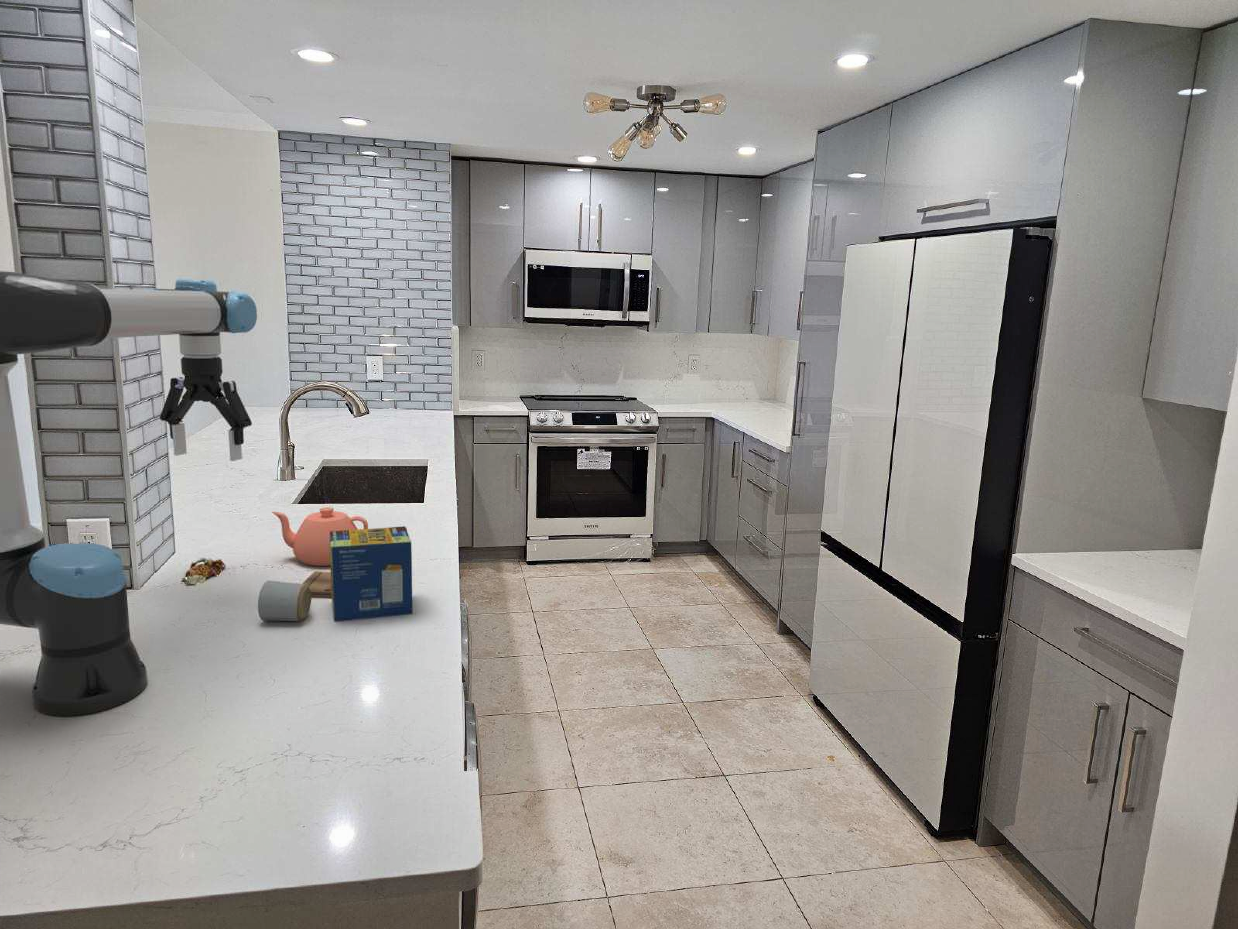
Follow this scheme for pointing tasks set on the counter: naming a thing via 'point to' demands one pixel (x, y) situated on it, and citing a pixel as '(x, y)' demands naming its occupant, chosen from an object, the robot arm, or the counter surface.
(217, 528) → the counter surface
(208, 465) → the counter surface
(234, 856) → the counter surface
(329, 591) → the walnut board
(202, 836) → the counter surface
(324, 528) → the teapot
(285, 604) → the ceramic mug
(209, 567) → the grilled chicken meal
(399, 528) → the protein box
